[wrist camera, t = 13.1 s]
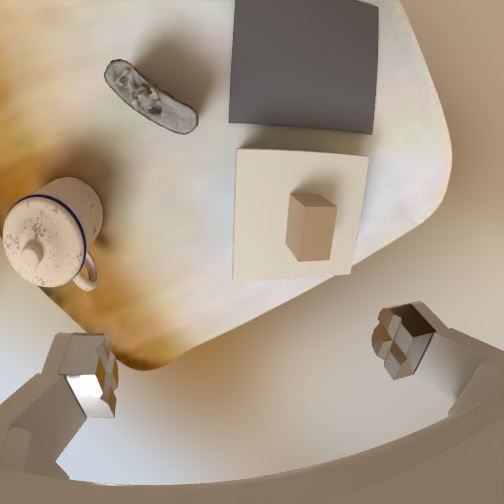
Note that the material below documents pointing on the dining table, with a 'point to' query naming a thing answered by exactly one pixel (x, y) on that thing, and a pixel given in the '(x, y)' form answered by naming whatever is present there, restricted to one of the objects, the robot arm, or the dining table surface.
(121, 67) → the flask
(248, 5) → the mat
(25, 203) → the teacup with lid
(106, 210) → the dining table surface
